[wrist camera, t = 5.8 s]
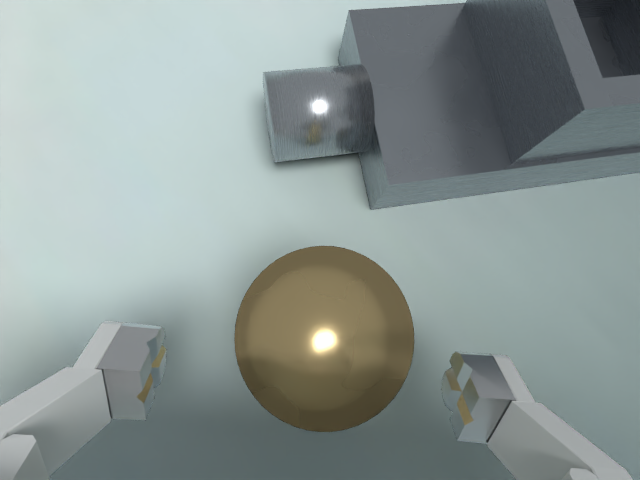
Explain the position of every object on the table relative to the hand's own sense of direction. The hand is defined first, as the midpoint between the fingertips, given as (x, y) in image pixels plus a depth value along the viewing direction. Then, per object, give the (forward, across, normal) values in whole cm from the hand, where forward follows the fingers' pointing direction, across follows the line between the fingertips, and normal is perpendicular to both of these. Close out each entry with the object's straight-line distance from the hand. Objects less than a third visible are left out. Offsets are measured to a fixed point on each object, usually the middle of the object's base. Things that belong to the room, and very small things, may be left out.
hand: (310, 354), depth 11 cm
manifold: (+13, -10, -5) cm, 17 cm away
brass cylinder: (+4, 0, +3) cm, 5 cm away
